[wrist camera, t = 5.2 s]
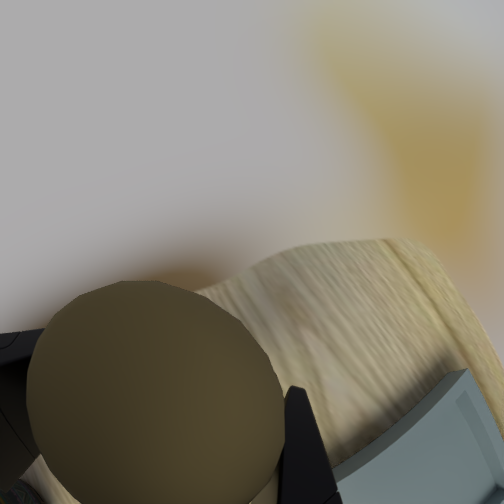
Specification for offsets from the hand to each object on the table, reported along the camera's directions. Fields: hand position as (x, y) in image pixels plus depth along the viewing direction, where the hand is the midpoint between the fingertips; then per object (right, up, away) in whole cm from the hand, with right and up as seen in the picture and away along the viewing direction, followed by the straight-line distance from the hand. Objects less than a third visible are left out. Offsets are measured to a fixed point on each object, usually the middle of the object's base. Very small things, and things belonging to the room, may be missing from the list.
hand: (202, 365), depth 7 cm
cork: (0, -4, +5) cm, 7 cm away
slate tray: (+15, -18, +4) cm, 24 cm away
